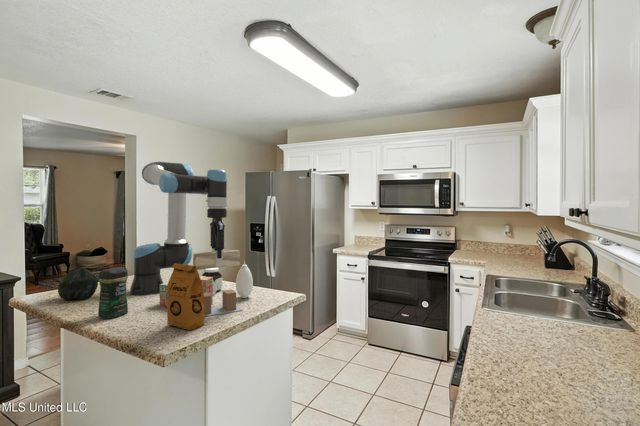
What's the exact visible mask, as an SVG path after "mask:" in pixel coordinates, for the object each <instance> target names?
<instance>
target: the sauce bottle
mask: <svg viewBox="0 0 640 426" xmlns="http://www.w3.org/2000/svg"><path fill="white" fill-rule="evenodd" d="M245 260H246V259H243V264H242V265H241V267H240V268H239V270H238V272H237V274H236V279H235V290H236V294H237V295H238V296H240V298H242V299H247V298H248V297H249V296H250V295H251V293H252V291H253V288H254V280H253V276H252V271H251V270H250V268H249V266H248V265H247V264H246V261H245Z"/></svg>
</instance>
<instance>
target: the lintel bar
mask: <svg viewBox="0 0 640 426" xmlns="http://www.w3.org/2000/svg"><path fill="white" fill-rule="evenodd" d="M240 255H241V250H239V249H238V250H237V249H230V250H222V266H219V267H215V252H212V251H203V252H194V253H193V252H192V266H196V268H197V271H198V270H199V271H200V270H204V269H210V268H224V267H225V268H227V267H233V266H234V267H235V266H240V265H241V256H240Z"/></svg>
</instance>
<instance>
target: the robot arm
mask: <svg viewBox="0 0 640 426" xmlns="http://www.w3.org/2000/svg"><path fill="white" fill-rule="evenodd" d="M194 174H195V173H194V171H193V168H192V167H191V166H190V165H189V164H186V163H180V162H179V163H178V162H165V161H153V162H150V163H147V164H145V165H144V166H143V168H142V170H141V176H142V179H143V180H144V181H145V183H147V184H150V185H151V186H152V185H153V186H159V189H160V192H161V193H165V194H167V196H168V197H167V198H168V199H167V238H166V240H164V242H163V245H161V243H159V242H157V243H156V242H155V243H147V244H146V243H145V244H141V245H138V246H136V247H135V248H134V250H133V279H132V282H131V284H130V287H129V294H130V295H135V296H146V295H147V296H148V295H153V294H154V295H155V294H158V293H159V294H160V289H159V285H160V284H163V283H164V282H163V279H162V276H161V270H162V269H171V268H172V266H173V265H174V264H184V265H190V263H191V261H192V259H193V247H192V245H191V244H189V240H188V239H187V238H186V222H187V221H186V217H187V216H186V215H187V194H190V195H192V194H193V195H205V196H207V197H206V198H207V199H206V200H205V202H207V203H206V204H207V206H206V207H207V209H206V211H207V213H206V215H207V218H208V219H211V222H210V223H209V226H210V247H211V252H215V267H219V266H222V251H224V249H225V228H226V227H225V223H224V222H223V218H228V217H227V216H228V213H227V211H228V210H227V207H228V202H227V200H228V199H227V197H228V196H227V193H228V192H227V189H228V188H227V187H228V186H227V185H228V184H227V181H228V179H227V172H226V170H224V169H209V170H207V174H206V176H205V175H194ZM219 268H220V267H219ZM172 269H173V268H172Z"/></svg>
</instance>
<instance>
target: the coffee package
mask: <svg viewBox="0 0 640 426" xmlns="http://www.w3.org/2000/svg"><path fill="white" fill-rule="evenodd" d="M172 269H173V270H172V273H171V275H170V278H169V280H168V281H167V282H168V285H167V306H166V313H167V314H166V316H167V319H166V320H167V322H166V323H167V325H169V326H173V327H177V328H179V329H184V330H188V331H192V330H196V329H197V328H201V327H203V326H205V317H204V309H205V302H204V293H203V285H202V282H201V279H200V276H201V275H200V273H199V271H198V270H197V268H196V266H193V264H191V265H190V264H188V265H184V264H174V265H173V266H172Z"/></svg>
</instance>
